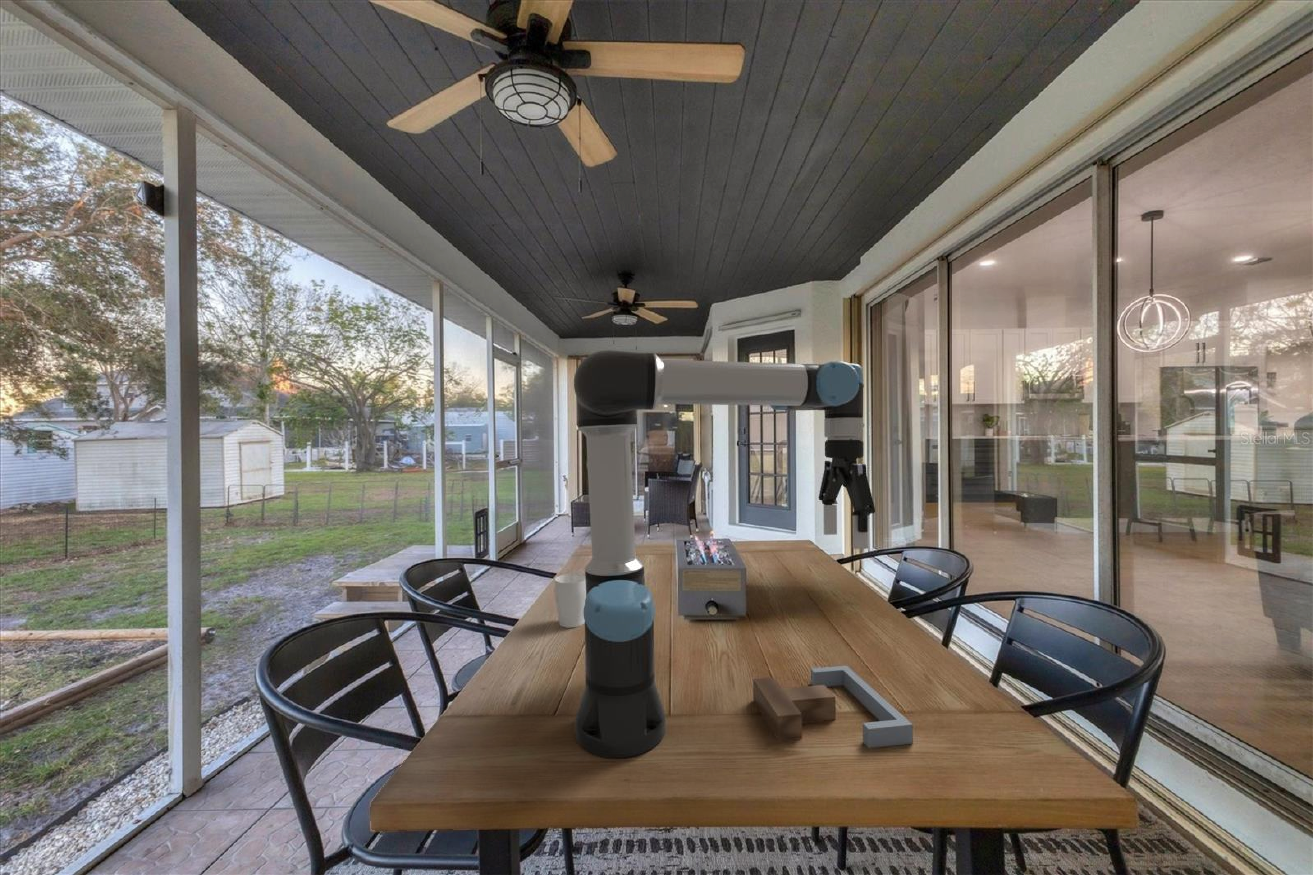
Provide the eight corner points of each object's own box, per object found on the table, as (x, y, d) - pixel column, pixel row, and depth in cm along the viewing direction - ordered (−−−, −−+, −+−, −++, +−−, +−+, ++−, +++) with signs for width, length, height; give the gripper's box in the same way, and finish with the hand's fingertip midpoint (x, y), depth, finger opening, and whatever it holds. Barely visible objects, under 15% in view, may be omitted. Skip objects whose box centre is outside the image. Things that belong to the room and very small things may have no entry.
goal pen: (868, 748, 76) (868, 729, 76) (810, 683, 96) (810, 668, 96) (913, 743, 77) (912, 724, 77) (846, 680, 97) (846, 665, 97)
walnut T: (778, 740, 78) (778, 716, 78) (753, 700, 90) (753, 679, 90) (847, 733, 80) (847, 709, 80) (814, 695, 91) (814, 674, 91)
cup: (553, 619, 131) (552, 575, 131) (586, 615, 134) (585, 572, 134) (556, 632, 122) (556, 584, 122) (592, 627, 125) (591, 581, 125)
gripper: (894, 439, 88) (895, 555, 88) (834, 438, 113) (835, 529, 113) (855, 439, 88) (855, 556, 88) (803, 438, 113) (804, 529, 113)
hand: (844, 541), depth 100 cm, fingers open, 13 cm apart
